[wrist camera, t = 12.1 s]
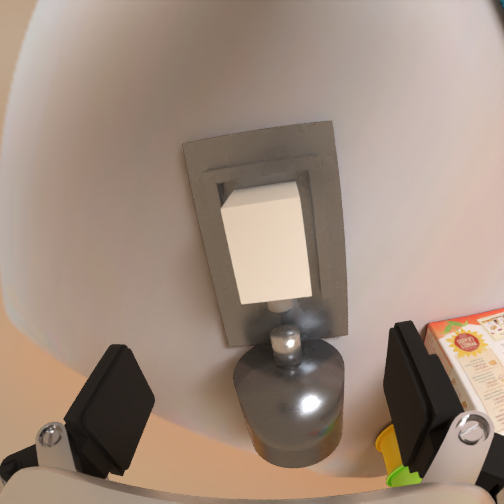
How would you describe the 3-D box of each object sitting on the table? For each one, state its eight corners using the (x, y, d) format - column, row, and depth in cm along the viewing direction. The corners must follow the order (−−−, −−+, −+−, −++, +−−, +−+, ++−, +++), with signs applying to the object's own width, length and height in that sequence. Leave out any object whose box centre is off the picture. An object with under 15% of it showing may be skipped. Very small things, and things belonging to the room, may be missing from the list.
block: (233, 189, 26) (220, 208, 20) (295, 180, 25) (299, 196, 19) (253, 288, 29) (246, 327, 23) (308, 281, 28) (314, 319, 23)
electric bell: (185, 143, 25) (135, 155, 16) (330, 120, 24) (359, 118, 14) (247, 402, 36) (238, 469, 27) (345, 393, 35) (356, 461, 25)
